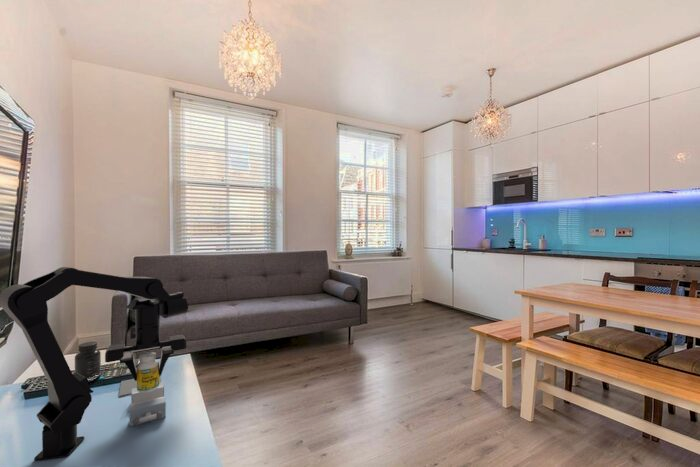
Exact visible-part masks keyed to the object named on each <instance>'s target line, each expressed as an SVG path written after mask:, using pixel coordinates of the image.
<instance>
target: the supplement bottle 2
mask: <svg viewBox="0 0 700 467" xmlns="http://www.w3.org/2000/svg"><path fill="white" fill-rule="evenodd" d="M138 360H139V363H137V365H136V371H137V391H138V392H140V393H146V392H151V391H153V390H155V389H157V388H158V387H159V366H160V360H158V359H157V353H156V352H155V351H150V352H149V351H147V352H145V353H141V354H140V355H139V356H138Z"/></svg>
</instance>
